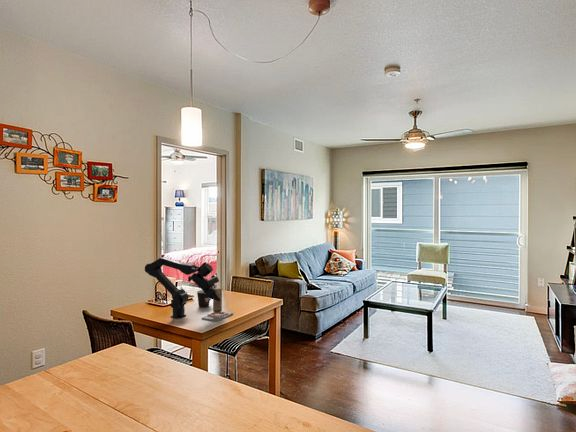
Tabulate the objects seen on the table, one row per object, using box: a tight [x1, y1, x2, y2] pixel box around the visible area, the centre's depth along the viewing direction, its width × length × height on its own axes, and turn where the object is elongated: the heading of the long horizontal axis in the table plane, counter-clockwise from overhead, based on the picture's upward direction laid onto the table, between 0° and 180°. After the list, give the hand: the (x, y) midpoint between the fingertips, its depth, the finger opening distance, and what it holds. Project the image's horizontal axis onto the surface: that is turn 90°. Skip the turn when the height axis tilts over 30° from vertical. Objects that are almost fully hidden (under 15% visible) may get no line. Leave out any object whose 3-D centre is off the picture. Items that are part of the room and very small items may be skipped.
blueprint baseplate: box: [201, 310, 234, 323], centre depth 205 cm, size 16×11×2 cm, turn 154°
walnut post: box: [212, 287, 223, 312], centre depth 205 cm, size 5×5×13 cm
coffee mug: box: [196, 289, 212, 309], centre depth 227 cm, size 12×9×10 cm
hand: (219, 299), depth 205 cm, fingers closed on walnut post, 5 cm apart
